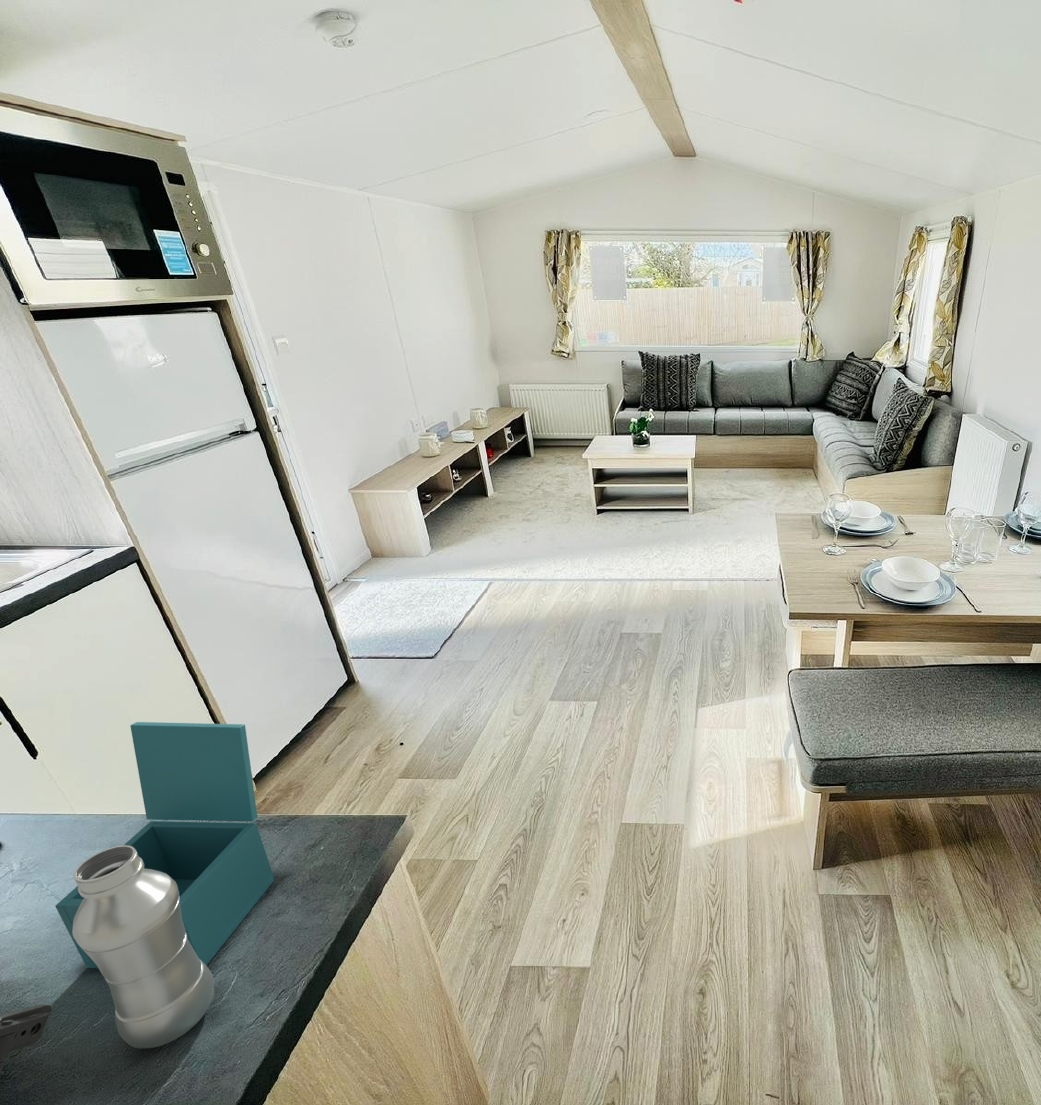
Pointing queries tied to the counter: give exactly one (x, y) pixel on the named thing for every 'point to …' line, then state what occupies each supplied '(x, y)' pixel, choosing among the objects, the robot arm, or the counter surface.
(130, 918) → the silver metal bottle
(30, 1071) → the counter surface
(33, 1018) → the robot arm
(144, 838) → the cool box
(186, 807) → the cool box lid
